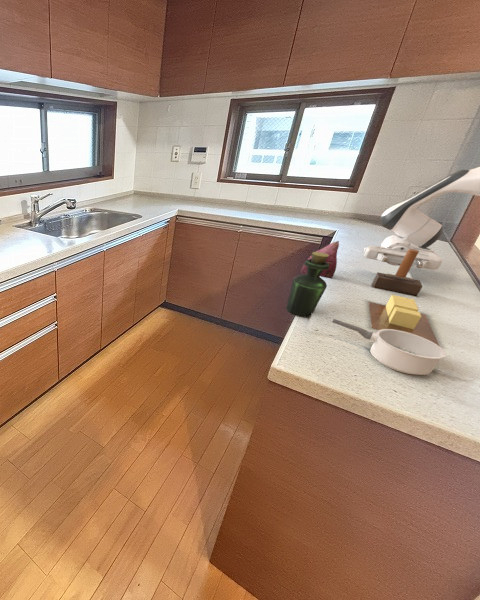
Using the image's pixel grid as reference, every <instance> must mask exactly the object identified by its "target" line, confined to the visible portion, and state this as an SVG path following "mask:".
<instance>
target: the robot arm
mask: <svg viewBox="0 0 480 600" xmlns="http://www.w3.org/2000/svg"><path fill="white" fill-rule="evenodd" d="M450 193H460V194H465V195H466V194H467V195H472V196H478V197H480V166H478V167H475V168H471V169H460V170H458V171H455V172H453V173H451V174H449V175H447V176H445V177H443V178H441V179H440V180H438V181H436V182H435V183H432V184H431V185H429V186H428V187H426V188H424V189H423V190H420V191H419V192H417V193H415V194H414V195H411V196H409V197H408V198H406V199H405V200H402V201H400V202H398V203H396V204H394V205H392V206H390V207H388V209H386V210H385V211H384V212H383V213H382V214H381V215H380V225H381V227H382V228H385V229H386V230H388V231H391V232H392V233H394V234H392V235H389V236H387V237H386V238H384V240H383V241H382V242H381V244H380V246H377V245H368V246H367V247H363V248H362V249H363V251H364V254H363V258H365V259H369V260H375V261H379V262H382V263H386V264H388V265H391V266H396V267H397V266H399V267H400V265H401V263H402V261H403V259H404V257H405V255H406V253H407V251H408V249H415V250H418V251H419V253H418V255H417V256H416V258H415V260H414V262H413V264H412V266H411V267H414V268H417V269H421V270H423V269H425V270H432V271H437V270H438V269H439V268H440V266H441V264H442V263H443V259H442V257H440V255H438V254H437V253H435V249H433V248H429V247H430V246H432V245H433V244H435V243H436V242H437V241H438V240H439V239H440V238H441V236H442V233H443V230H444V228H443V224H441V223H440V222H438V221H437V220H435V219H433V218H432V217H429V215H427V214H425V213H424V212H421V211H420V210H418V208H419V207H421V206H423V205H425V204H427V203H428V202H430V201H432V200H434V199H435V198H437V197H440V196H441V195H444V194H450Z"/></svg>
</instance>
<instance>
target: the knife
mask: <svg viewBox="0 0 480 600" xmlns="http://www.w3.org/2000/svg"><path fill="white" fill-rule="evenodd" d="M418 253H419V251H418V250H415V249H408V251H407V253H406V255H405V257H404V259H403V261H402V263H401V265H399V267H398V269H397V270H396V273H395V274H393V273H385V274H386V276H385V277H390V278H395V279H400V280H405V281H411V282H413V281H414V279H415V278H414V277H409V276H408V277H407V275H408V273H409V272H410V270H411V268H412V267H413V266H412V264H413V262H414V260H415V258H416V256H417V255H418Z"/></svg>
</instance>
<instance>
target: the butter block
mask: <svg viewBox="0 0 480 600" xmlns="http://www.w3.org/2000/svg"><path fill="white" fill-rule="evenodd" d="M385 306H386V310H387V315H388V317H390V315H391V313H392V311H393V310H394V308H395V307H399V308H403V309H408V310H412V311H416V312H419V307H418V304H417V303H416V301H415V299H414V298H408V297H404V296H400V295H395V294H391V295H390V297H389V299H388V301H387V303H386V305H385Z"/></svg>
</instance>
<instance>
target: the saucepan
mask: <svg viewBox="0 0 480 600" xmlns="http://www.w3.org/2000/svg"><path fill="white" fill-rule="evenodd" d="M331 323H333V324H335V325H338V326H342V327H343V328H347V329H350V330H352V331H355V332H357V333H358V334H360V335H361V336H362V337H363V338H364V339H366V340H368V341H372V342H373V343H372V345H371V346H370V349H369V352H370V354H371V355H372V356H373V357H374V358H375V359H376V360H377V361H378V363H381V364H382V365H383V366H385V367H387V368H389V369H391V370H394V371H396V372H398V373H402V374H403V373H404V374H407V375H417V376H419V375H420V376H423V375H425V376H426V375H430V374H431V373H432V372H433V370H434V368H436V366H437V364H438V363H439V361H440V359H443V358H444V357H446V351H445V350H444V349H443V348H442V347H441V346H440V345H439V346H438V345H437V344H435V343H433V342H431V341H429V340H427V339H425V338H423V337H420V336H417V335H415V334H411V333H408V332H404V331H399V330H393V329H382V330H377V331H376V332H373V331H368V330H365V329H364V328H362V327H359V326H357V325H354V324H351V323H347V322H344V321H341V320H339V319H336V318H333V319H332V321H331Z"/></svg>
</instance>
